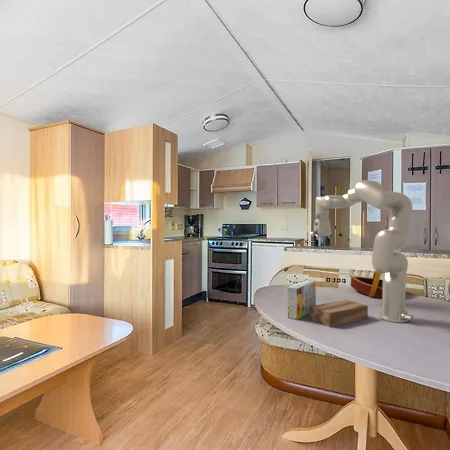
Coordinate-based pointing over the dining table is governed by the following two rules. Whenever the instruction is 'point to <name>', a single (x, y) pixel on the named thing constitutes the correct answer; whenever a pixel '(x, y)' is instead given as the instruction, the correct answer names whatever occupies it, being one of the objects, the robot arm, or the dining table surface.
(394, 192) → the robot arm
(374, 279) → the decorative basket
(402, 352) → the dining table surface
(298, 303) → the snack box
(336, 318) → the walnut riser
